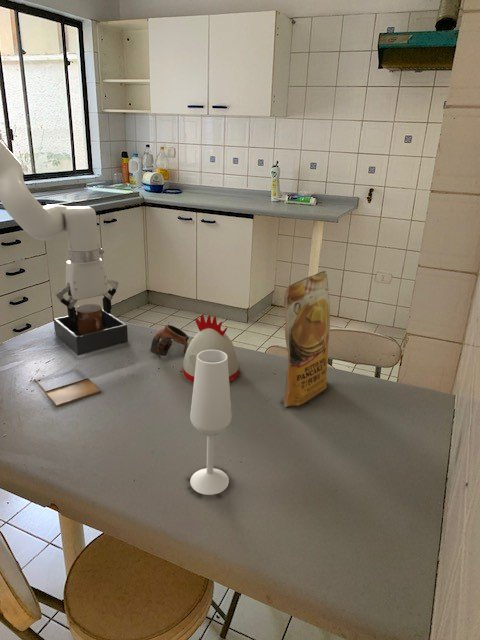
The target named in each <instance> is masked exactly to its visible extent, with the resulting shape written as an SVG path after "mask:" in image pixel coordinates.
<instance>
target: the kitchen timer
mask: <svg viewBox="0 0 480 640" xmlns="http://www.w3.org/2000/svg"><path fill="white" fill-rule="evenodd" d="M211 318H212V317H211V315H210V314H208V316H207V319H206V320H205V316H204V314H201V315H200V320H199V318H198V317H196V318H195V319H194V321H195V323H196V327H197V328H198V332H197V333H196V334H195V335H194V336H193V337H192V338H191V339H189V340H188V342H189V343H188V348H187V350H186V353H184V358H183V362H182V374H183V376H184V377H185V379H186V380H187V381H189V382H191V383H194V377H195V368H196V359H197V354H198V353H200V352H202V351H205V350H219V351H222V352H224V353H226V354H227V357H228V372H229V383H231V382H232V381H234V380H236V378H237V377H238V376H239V372H240V371H239V368H240V365H239V364H240V363H239V358H238V355H237V351H236V348H235V347H234V344H233V342H232V340H231V339H230V337H229V336H228V335H227V334H226V332H227V330H228V326H226V327H225V328H224V329H223V330H222V324H223V321H222V320H221V321H220V322H219V323H218V321H217V316H216V315H214V316H213V318H212V319H211Z"/></svg>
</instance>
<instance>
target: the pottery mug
mask: <svg viewBox="0 0 480 640" xmlns="http://www.w3.org/2000/svg"><path fill="white" fill-rule="evenodd" d="M189 340H190V336H189V335H188V334H187V333H185V332H184V331H183V330H181V329H180V328H178V327H176V326H174V325H171V324H166V325H165V326H164V328H161V329H159V330H158V331H157V332H156V333H155V335H154V336H153V338H152V340H151V344H150V348H149V350H150V352H151V353H152V354H153V355H159V356H161V357H167V355H168V353H169V350H170V348H171V347H172V345H173V342H175V343H178V344H181V345H183V346H184V348H183V354H186V351H187V349H188V346H189V343H188V342H189Z"/></svg>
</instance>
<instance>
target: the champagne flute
mask: <svg viewBox="0 0 480 640" xmlns="http://www.w3.org/2000/svg"><path fill="white" fill-rule="evenodd" d="M192 387H193V388H192V397H191V404H190V405H191V407H190V414H189V416H190V417H189V419H190V422H191V424H192V426H193V427H194V428H195V430H196V431H197V432H199V433H201V434H202V435H204V436H206V467H205V468H201V469H199V470H197V471H195V472H193V474H192V475H191V477H190V482H189V483H190V486H191V488H192V489H193V490H194V491H195V492H197V493H199V494H201V495H206V496H214V495H217V494H221V493H222V492H224V491H225V490H227V488H228V486H229V483H230V479H229V476H228V475H227V473H226V472H225V471H223V470H221V469H219V468H216V467H214V462H215V461H214V458H215V456H214V455H215V436H217V435H219V434H222V433H223V432H224V431H225V430H226V429H227V428H228V426H229V425H230V424H231V422H232V417H233V416H232V403H231V389H230V382H229V372H228V357H227V354H226V353H224V352H222V351H219V350H205V351H202V352H200V353H198V354H197V359H196V368H195V377H194V382H193V386H192Z"/></svg>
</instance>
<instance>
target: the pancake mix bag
mask: <svg viewBox="0 0 480 640" xmlns="http://www.w3.org/2000/svg"><path fill="white" fill-rule="evenodd" d="M330 303H331V302H330V293H329V281H328V273H326V270H322V271H319V272H317V273H315V274H313V275H310V276H307V277H304V278H302V279H300V280H297V281H296V282H293V283H292V284H290V285H289V286H288V287H287V288H286V289H285V292H284V299H283V308H284V309H283V310H284V317H285V318H284V319H285V326H284V338H285V345H286V349H287V367H286V376H285V377H286V378H285V387H284V393H283V399H282V402H283V406H284V408H287V407H299V406H302V405H304V404H305V403H307V402H309V401H310V400H312V399H313V398H315V397H316V396H317V395H319V394H321V393H323V392H324V391H326V389H327V388H328V379H327V378H328V377H327V375H328V374H327V373H328V372H327V371H328V361H329V345H330V333H331V332H330V330H331V305H330Z"/></svg>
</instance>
